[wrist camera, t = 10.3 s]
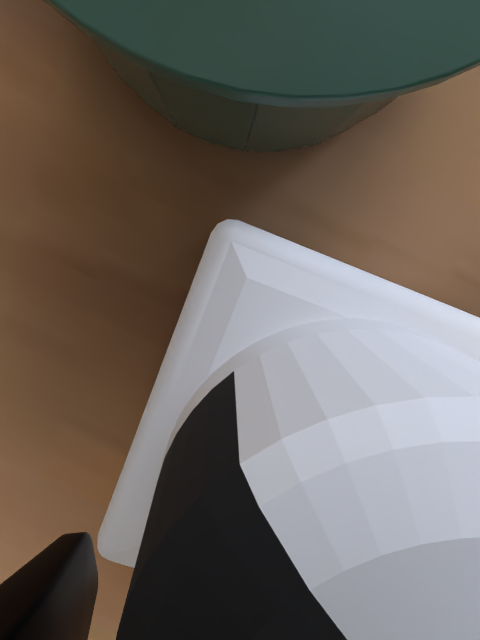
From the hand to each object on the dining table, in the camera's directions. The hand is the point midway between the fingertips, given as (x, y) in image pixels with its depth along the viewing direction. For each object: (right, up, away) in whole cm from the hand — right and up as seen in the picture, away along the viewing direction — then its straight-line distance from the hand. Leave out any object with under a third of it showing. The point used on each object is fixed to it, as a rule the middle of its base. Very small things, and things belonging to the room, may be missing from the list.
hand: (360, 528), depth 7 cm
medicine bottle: (-1, +2, +8) cm, 8 cm away
